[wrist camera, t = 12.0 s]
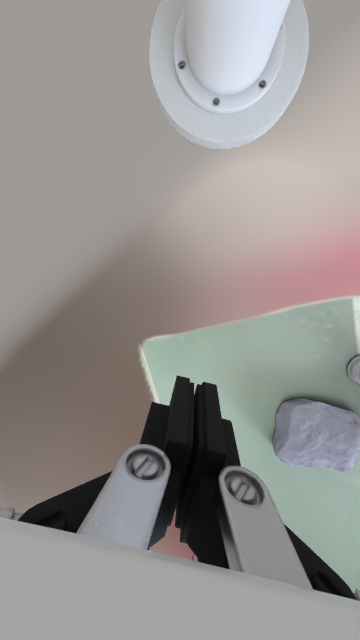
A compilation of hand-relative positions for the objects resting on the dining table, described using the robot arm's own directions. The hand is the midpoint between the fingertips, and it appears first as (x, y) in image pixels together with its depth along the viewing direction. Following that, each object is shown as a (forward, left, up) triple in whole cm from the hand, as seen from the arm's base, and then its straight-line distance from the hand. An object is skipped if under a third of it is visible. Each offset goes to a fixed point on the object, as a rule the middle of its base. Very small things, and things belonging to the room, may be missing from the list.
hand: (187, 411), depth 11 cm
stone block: (+15, +23, -27) cm, 38 cm away
